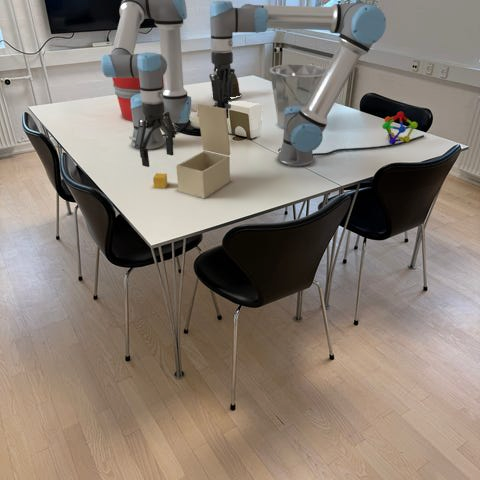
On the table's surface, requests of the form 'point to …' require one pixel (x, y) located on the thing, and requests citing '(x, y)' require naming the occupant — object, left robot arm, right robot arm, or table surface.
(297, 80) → the bucket
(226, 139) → the lid
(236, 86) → the bell
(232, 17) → the right robot arm
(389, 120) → the educational toy
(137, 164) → the table surface
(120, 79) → the bucket
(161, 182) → the block
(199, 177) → the chest
